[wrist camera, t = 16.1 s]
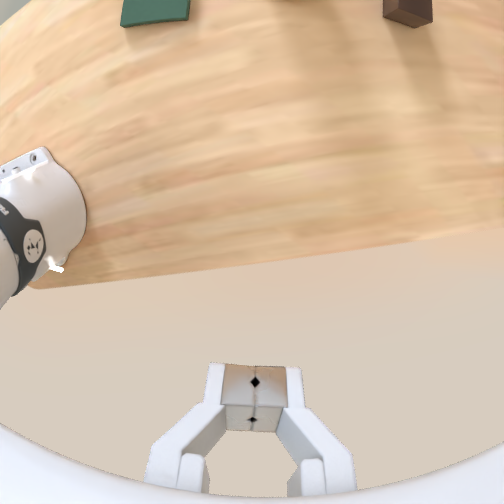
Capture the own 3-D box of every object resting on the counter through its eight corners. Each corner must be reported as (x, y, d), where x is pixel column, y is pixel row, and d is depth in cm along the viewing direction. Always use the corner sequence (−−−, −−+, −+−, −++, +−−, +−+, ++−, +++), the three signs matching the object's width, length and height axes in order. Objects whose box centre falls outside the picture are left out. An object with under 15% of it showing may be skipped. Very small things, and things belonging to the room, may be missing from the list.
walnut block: (382, 17, 23) (398, 8, 19) (382, -11, 21) (397, -22, 17) (414, 28, 23) (432, 22, 19) (414, 0, 21) (431, -8, 17)
